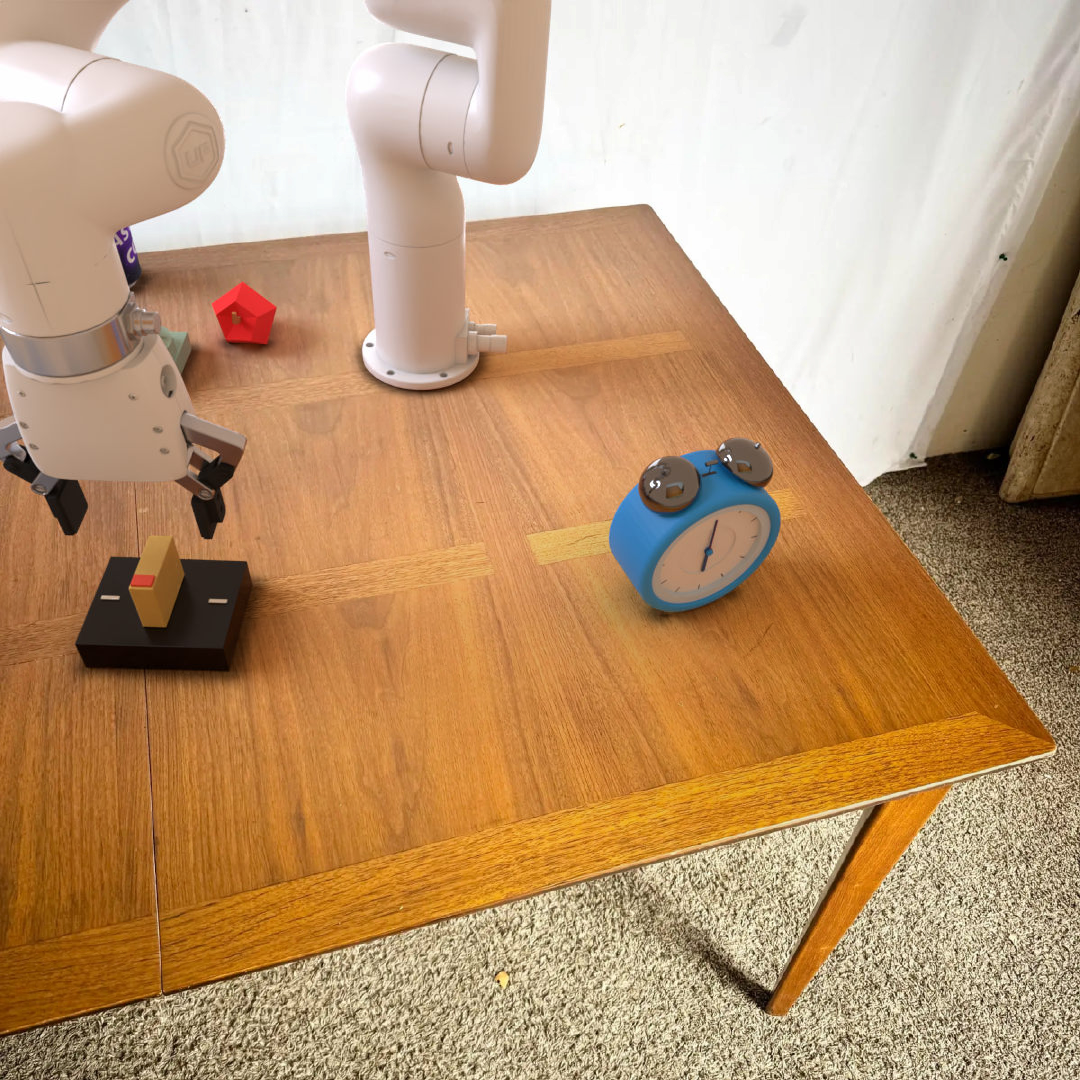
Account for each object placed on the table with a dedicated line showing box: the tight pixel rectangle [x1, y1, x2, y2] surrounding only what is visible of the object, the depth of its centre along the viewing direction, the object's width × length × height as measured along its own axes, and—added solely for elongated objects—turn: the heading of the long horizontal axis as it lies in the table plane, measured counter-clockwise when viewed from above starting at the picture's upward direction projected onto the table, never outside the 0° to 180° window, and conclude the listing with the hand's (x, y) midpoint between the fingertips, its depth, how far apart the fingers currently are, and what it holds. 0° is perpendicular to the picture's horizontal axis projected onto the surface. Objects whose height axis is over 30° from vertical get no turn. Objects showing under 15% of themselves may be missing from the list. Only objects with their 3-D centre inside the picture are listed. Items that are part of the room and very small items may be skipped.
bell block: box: [158, 325, 193, 376], centre depth 98 cm, size 9×7×4 cm
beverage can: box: [114, 226, 143, 289], centre depth 107 cm, size 6×6×12 cm
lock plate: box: [74, 556, 254, 672], centre depth 76 cm, size 11×9×3 cm
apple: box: [211, 281, 278, 345], centre depth 103 cm, size 7×7×8 cm
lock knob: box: [129, 534, 185, 627], centre depth 74 cm, size 6×2×5 cm, turn 0°
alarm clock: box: [608, 436, 782, 616], centre depth 78 cm, size 13×6×15 cm, turn 115°
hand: (145, 523), depth 70 cm, fingers open, 9 cm apart
